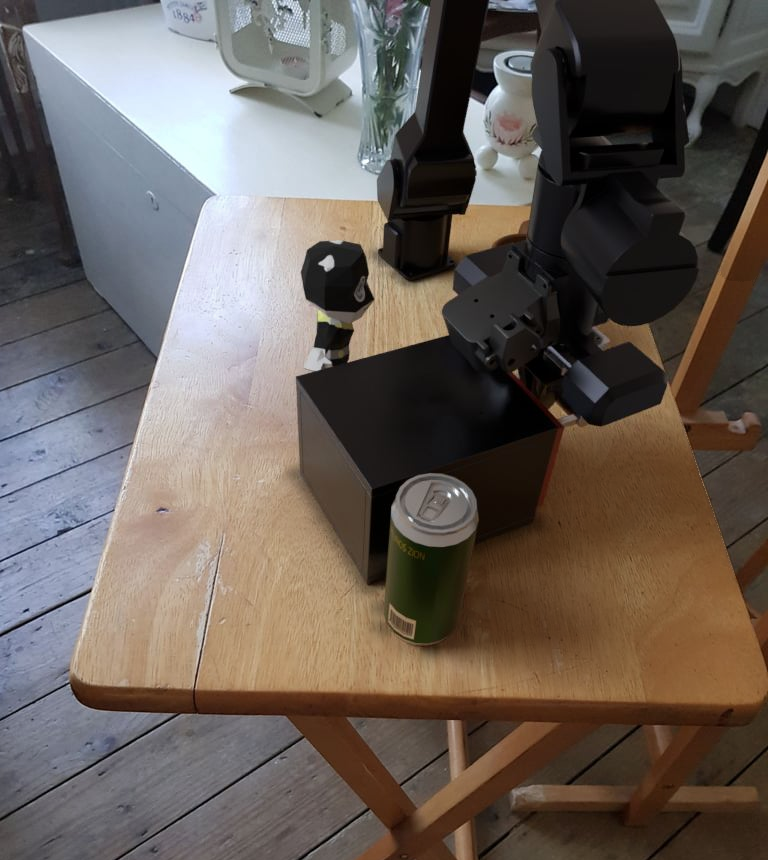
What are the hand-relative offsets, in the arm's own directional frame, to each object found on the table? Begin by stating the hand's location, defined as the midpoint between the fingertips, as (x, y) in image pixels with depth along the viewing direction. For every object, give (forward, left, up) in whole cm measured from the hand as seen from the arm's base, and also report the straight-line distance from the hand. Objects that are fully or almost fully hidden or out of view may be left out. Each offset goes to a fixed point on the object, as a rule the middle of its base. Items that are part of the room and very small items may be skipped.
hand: (534, 414), depth 65 cm
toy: (+10, -15, -5) cm, 18 cm away
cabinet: (+11, -1, -5) cm, 12 cm away
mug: (-11, -16, -5) cm, 20 cm away
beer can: (+17, +9, -5) cm, 20 cm away
